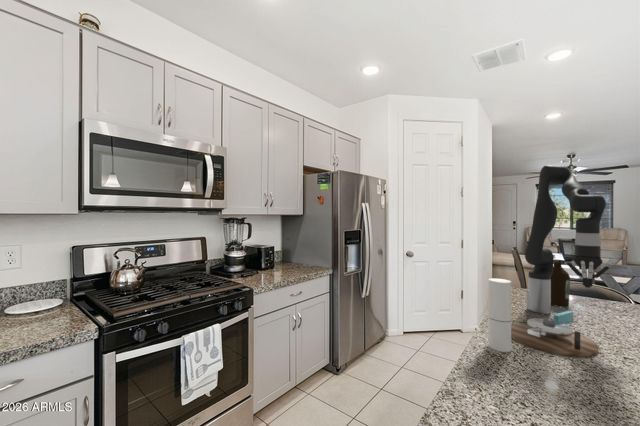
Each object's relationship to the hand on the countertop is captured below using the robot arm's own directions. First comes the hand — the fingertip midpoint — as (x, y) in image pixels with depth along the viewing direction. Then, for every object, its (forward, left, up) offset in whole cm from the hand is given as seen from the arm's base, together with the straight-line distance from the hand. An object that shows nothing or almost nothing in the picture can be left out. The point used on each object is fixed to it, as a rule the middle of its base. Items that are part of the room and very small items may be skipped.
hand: (587, 287), depth 115 cm
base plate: (-4, -16, -21) cm, 27 cm away
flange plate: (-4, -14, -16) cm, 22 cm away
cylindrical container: (-5, -41, -21) cm, 46 cm away
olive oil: (-35, +39, -21) cm, 57 cm away
